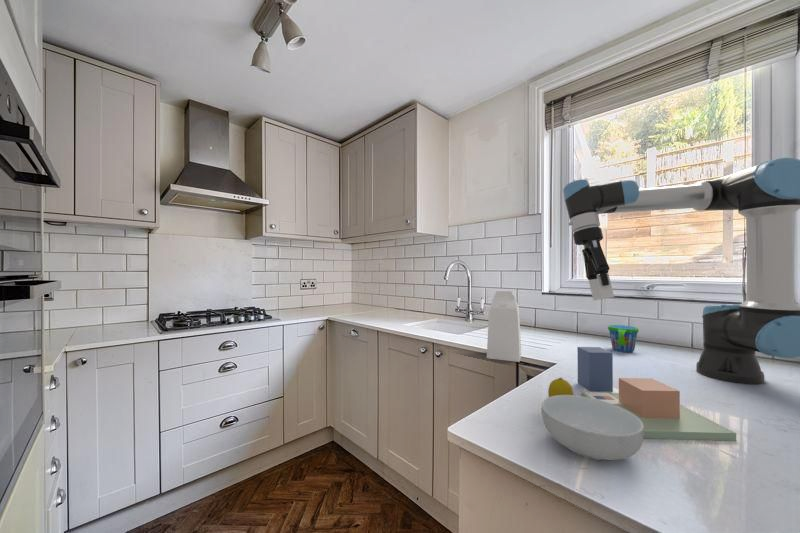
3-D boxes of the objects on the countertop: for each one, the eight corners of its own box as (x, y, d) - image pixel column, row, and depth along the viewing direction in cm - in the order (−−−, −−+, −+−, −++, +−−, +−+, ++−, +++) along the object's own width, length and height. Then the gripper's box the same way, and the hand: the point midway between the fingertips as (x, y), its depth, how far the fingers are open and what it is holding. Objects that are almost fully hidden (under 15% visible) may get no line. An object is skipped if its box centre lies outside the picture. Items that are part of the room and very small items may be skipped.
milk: (521, 354, 127) (521, 290, 127) (519, 361, 116) (519, 292, 116) (490, 351, 132) (490, 289, 132) (486, 358, 121) (486, 291, 121)
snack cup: (612, 345, 142) (612, 323, 142) (641, 349, 134) (641, 326, 134) (603, 351, 131) (603, 327, 131) (634, 356, 123) (634, 331, 123)
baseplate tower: (658, 399, 82) (658, 370, 83) (736, 440, 63) (735, 403, 63) (581, 397, 83) (581, 369, 84) (633, 438, 63) (633, 401, 64)
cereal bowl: (603, 488, 49) (603, 443, 49) (523, 436, 64) (523, 402, 64) (665, 461, 56) (665, 422, 56) (579, 420, 71) (579, 389, 71)
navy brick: (599, 383, 94) (599, 347, 94) (612, 391, 88) (612, 352, 88) (577, 383, 94) (577, 346, 95) (589, 391, 88) (589, 352, 88)
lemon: (543, 408, 77) (543, 375, 77) (559, 404, 80) (559, 372, 80) (562, 417, 72) (562, 383, 72) (579, 413, 74) (579, 379, 75)
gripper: (568, 241, 108) (582, 301, 104) (577, 221, 85) (596, 298, 81) (593, 236, 105) (608, 298, 101) (609, 215, 82) (630, 294, 78)
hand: (603, 298), depth 91 cm, fingers open, 13 cm apart
